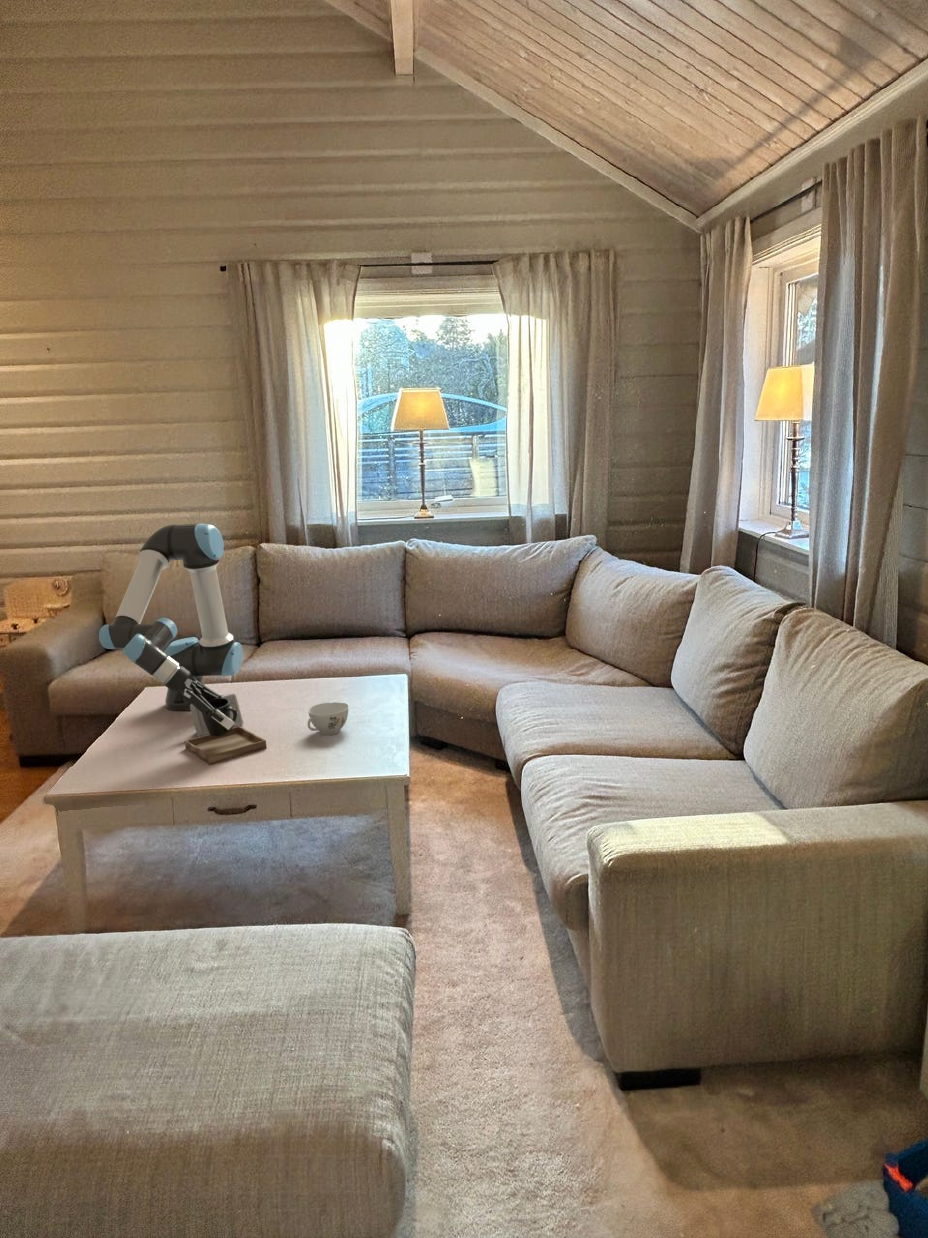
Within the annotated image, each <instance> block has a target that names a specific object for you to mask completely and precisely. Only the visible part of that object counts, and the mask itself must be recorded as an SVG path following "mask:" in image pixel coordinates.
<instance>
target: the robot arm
mask: <svg viewBox="0 0 928 1238" xmlns="http://www.w3.org/2000/svg"><path fill="white" fill-rule="evenodd" d="M224 544H225V543H224V538H223V536H222V533H221V532H220V530H219V529H218V528H217V527H216V526H215V525H213V524H208V523H207V524H206V523H193V524H192V523H189V524H187V523H186V524H168V525H165V526H163V527H161V528H159V529H158V530H155V532H153V534H151V535H150V536H149V537H148V539H146V540H145V542H144V543H143V545H142V546H141V548H140V550H139V552H138V556H137V558H138V564H137V566H136V568H135V571H134V573H133V575H132V577H131V579H130V581H129V584H128V587H127V590H126V592H125V594H124V595H123V599H122V600H121V603H120V606H119V608H118V610H117V613H116V615H115V617H114V619H113V620H112V623H109V624H104V625H103V626H102V627H101V628H100V629H99V633H98V640H99V642H100V645H101V646H102V648H104V649H108V650H109V649H110V650H122V653H123V655H124V656H125V657H127V659H129V660H130V661H131V662H132V663H134V664H135V665H137V667H139V668H141V669H142V670H144V671H145V672H146V673H148V674H149V675H151V676H152V678H153V680H154V681H158V682H159V683H161V684H164V685H165V687H166V689H167V692H166V696H165V709H167V710H169V711H170V710H171V711H179V712H180V711H182V712H183V711H191V710H190V705H191V704H192V705H194V706H195V707H196V708H197V709H198V710H199V711H200V712H202V713H203V714H204V715H205V716H206V717H207V718H208V719H209V718H210V717H212V718H213V719H215V720H216V721H217V722H219V723H220V724H221V725H223V726H224V727H225V728H227V729H228V730H229V729H230V728H231V727H232V726H233V725H234V723H235V722H234V721H232V720H231V719H233V712H232V711H230V718H228V717H227V716H226V715H224V714H223V713H222V712H220V711H219V710H218V709H217V710H216V709H215V708H214V707H213V706H212V705H211V704H210V703H209V702H208V701H207V700H210V699H214V698H222V696H221V694H218V693H217V692H216V691H214V690H213V689H210V688H209V687H208V686H206V684H205V682H204V680H203V677H223V678H224V677H234V676H235V675H237V673H239V671H240V670H241V667H242V664H243V658H244V655H243V654H244V650H243V649H244V647H243V645H242V644H241V643H240V642H238V641H235V637H234V635H233V634H232V633H230V632H229V630H228V624H227V619H226V615H225V607H224V604H223V603H224V602H223V599H222V593H221V588H220V587H221V586H220V583H219V582H220V581H219V575H218V572H217V571H218V570H217V566H219V564H220V561H221V560H220V559H221V558H223V555H224V552H225V549H224V548H225V545H224ZM172 561H182V563H183V564H182V565H183V568H184V570H187V571H188V572H189V574H190V575H189V576H190V580H191V585H192V589H193V595H194V600H195V606H196V610H197V617H198V621H199V626H200V630H201V635H202V637H201V638H200V639H198V637H196V636H195V637H192V636H191V637H185V638H181V639H177V640H174V639H175V638H176V636H177V634H178V627H177V625H176V623H175V622H174V621H173V620H171V619H169V618H166V617H161V618H159V619H157V620H155V621H154V622H153V623H144V624H143V623H142V620H143V619H144V615H145V613H146V611H147V608H148V606H149V603H150V602H151V601H150V600H151V599H152V596H153V593H154V592H155V589H156V586H157V584H158V581H159V579H160V577H161V575H162V572H163V570H166V569H167V567H168V566H169V563H170V562H172ZM230 708H231V707H230ZM237 713H238V712H237Z"/></svg>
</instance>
